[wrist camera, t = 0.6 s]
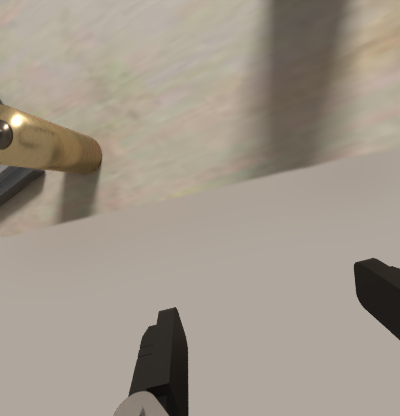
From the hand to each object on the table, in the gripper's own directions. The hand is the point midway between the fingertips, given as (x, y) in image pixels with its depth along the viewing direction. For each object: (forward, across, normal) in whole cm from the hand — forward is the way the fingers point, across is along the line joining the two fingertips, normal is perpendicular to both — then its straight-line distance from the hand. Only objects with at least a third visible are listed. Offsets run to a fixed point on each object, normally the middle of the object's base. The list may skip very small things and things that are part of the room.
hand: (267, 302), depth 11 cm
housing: (+26, +16, -10) cm, 32 cm away
